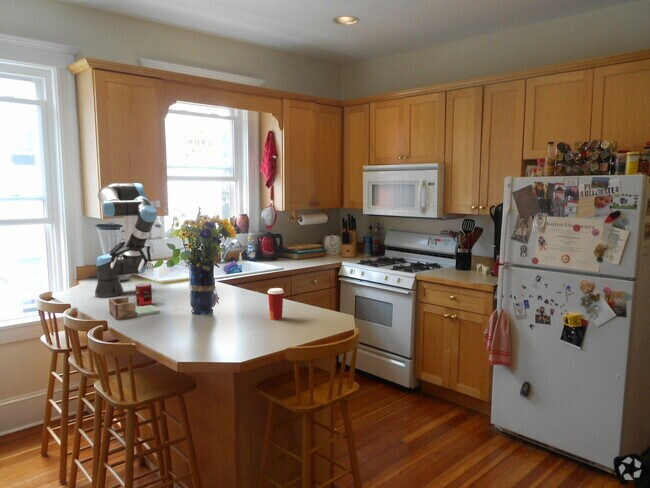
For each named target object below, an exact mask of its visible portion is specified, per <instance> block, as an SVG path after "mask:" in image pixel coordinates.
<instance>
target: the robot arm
mask: <svg viewBox="0 0 650 488" xmlns="http://www.w3.org/2000/svg"><path fill="white" fill-rule="evenodd" d="M97 198H98V201H99V202H100V203H101V212H102V215H103V217H110V218H112V217H124V238H122V239H121V241H120V242H119V243H118V244H116V245H115V246H114V247H113V248H111V249H110V250H109V252H108V253H107V254H103V255H99V256H98V257H97V258H96V274H97V275H96V277H97V284H96V287H95V290H94V295H95V296H94V297H96V298H112V297H118V296H122V295H124V293H125V292H124V288H123V286H122V283H121V280H120V276H131V275H133V276H134V275H136V276H137V275H142V274H144V273H145V272H146V270H147V265H148V262H152V258H151V257H152V256H151V252H150V251H151V245H150V243H147V244H146V242H147V240H148V237H149V235H150V233H151V231H152V228H153V226H154V224H155V222H156V220H157V217H158V214H159V213H158V210H157V208H155V207H154V206H152V205H151V203H150V201H149V199H148V197H147V195H146V191H145V188H144V185H143V184H142V183H137V182H136V183H135V182H113V183H109V184H108V183H107V185H104V186H103V187H101V188H100V189H99V191H98V193H97ZM144 248H145V249H146V253H145V251H144V250H143V249H144Z"/></svg>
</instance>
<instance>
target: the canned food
mask: <svg viewBox="0 0 650 488" xmlns="http://www.w3.org/2000/svg"><path fill="white" fill-rule="evenodd" d="M152 291H153V289H152V283H151V282H140V283H139V282H137V283H136V284H135V299H136V300H135V301H136V302H135V305H137V307H140V306H147V305H152V304H153V292H152Z"/></svg>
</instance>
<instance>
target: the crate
mask: <svg viewBox="0 0 650 488" xmlns="http://www.w3.org/2000/svg"><path fill="white" fill-rule="evenodd" d="M108 308H109V309H108V311H109V312H108V313H109V315H110V316H112V317H113V318H114V319H115V320H121V319H130V318H136V317H142V316H149V315H154V314H161V311H160V309H158V307H155V306H154V305H152V304H151V305H147V306H136V302H135V301H132V302H129V297H128V296H124V297H117V298H116V297H115V298H111V299H109V298H108Z"/></svg>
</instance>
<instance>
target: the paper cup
mask: <svg viewBox="0 0 650 488" xmlns="http://www.w3.org/2000/svg"><path fill="white" fill-rule="evenodd" d="M284 292H285V291H284V289H283V288H280V287H274V288H273V287H272V288H269V289H268V290H267V296H268V297H267V298H268V307H269V310H268V311H269V318H270V320H273V321H278V320H282V319H283V305H284Z"/></svg>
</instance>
